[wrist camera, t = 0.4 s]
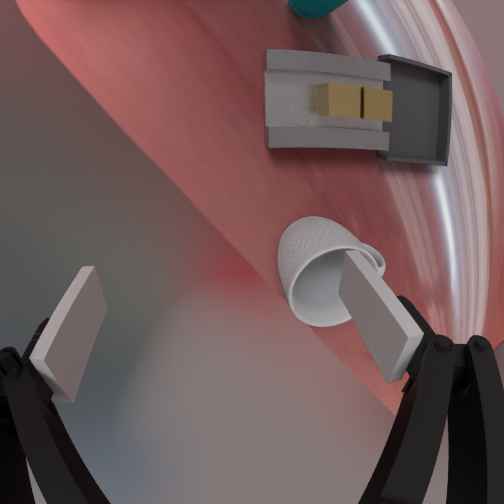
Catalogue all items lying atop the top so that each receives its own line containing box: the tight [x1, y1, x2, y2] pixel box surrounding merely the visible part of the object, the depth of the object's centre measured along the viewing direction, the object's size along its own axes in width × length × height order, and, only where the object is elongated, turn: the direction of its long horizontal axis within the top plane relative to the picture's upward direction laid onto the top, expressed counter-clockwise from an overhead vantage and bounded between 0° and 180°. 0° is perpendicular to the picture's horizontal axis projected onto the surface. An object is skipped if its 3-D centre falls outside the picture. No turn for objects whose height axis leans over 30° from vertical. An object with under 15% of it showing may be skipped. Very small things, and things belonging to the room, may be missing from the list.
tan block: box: [317, 82, 361, 118], centre depth 31 cm, size 4×4×4 cm
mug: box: [277, 216, 386, 327], centre depth 37 cm, size 15×11×13 cm
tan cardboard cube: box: [360, 87, 393, 122], centre depth 31 cm, size 4×4×4 cm
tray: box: [376, 54, 452, 166], centre depth 33 cm, size 15×12×3 cm
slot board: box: [262, 49, 391, 151], centre depth 32 cm, size 12×16×4 cm
